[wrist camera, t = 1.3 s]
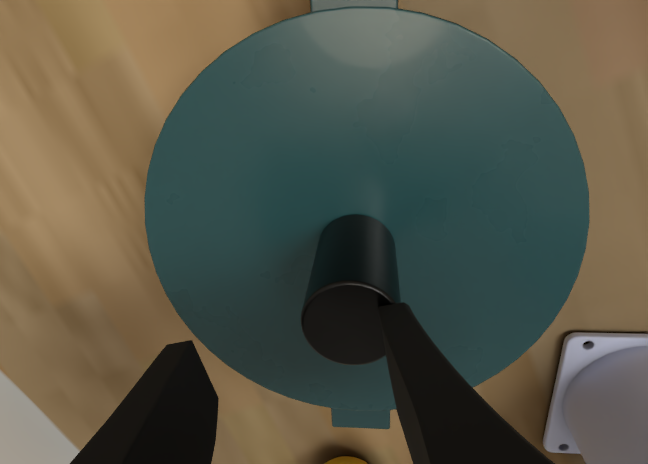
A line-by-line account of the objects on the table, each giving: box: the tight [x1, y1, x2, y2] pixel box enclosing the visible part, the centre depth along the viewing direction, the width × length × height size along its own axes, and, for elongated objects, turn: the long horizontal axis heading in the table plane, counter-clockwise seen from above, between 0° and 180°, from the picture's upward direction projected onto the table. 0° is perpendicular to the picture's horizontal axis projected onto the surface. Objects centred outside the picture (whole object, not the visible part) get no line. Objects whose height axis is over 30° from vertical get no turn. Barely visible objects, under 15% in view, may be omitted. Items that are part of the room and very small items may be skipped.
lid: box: [145, 6, 589, 411], centre depth 13 cm, size 14×14×5 cm
